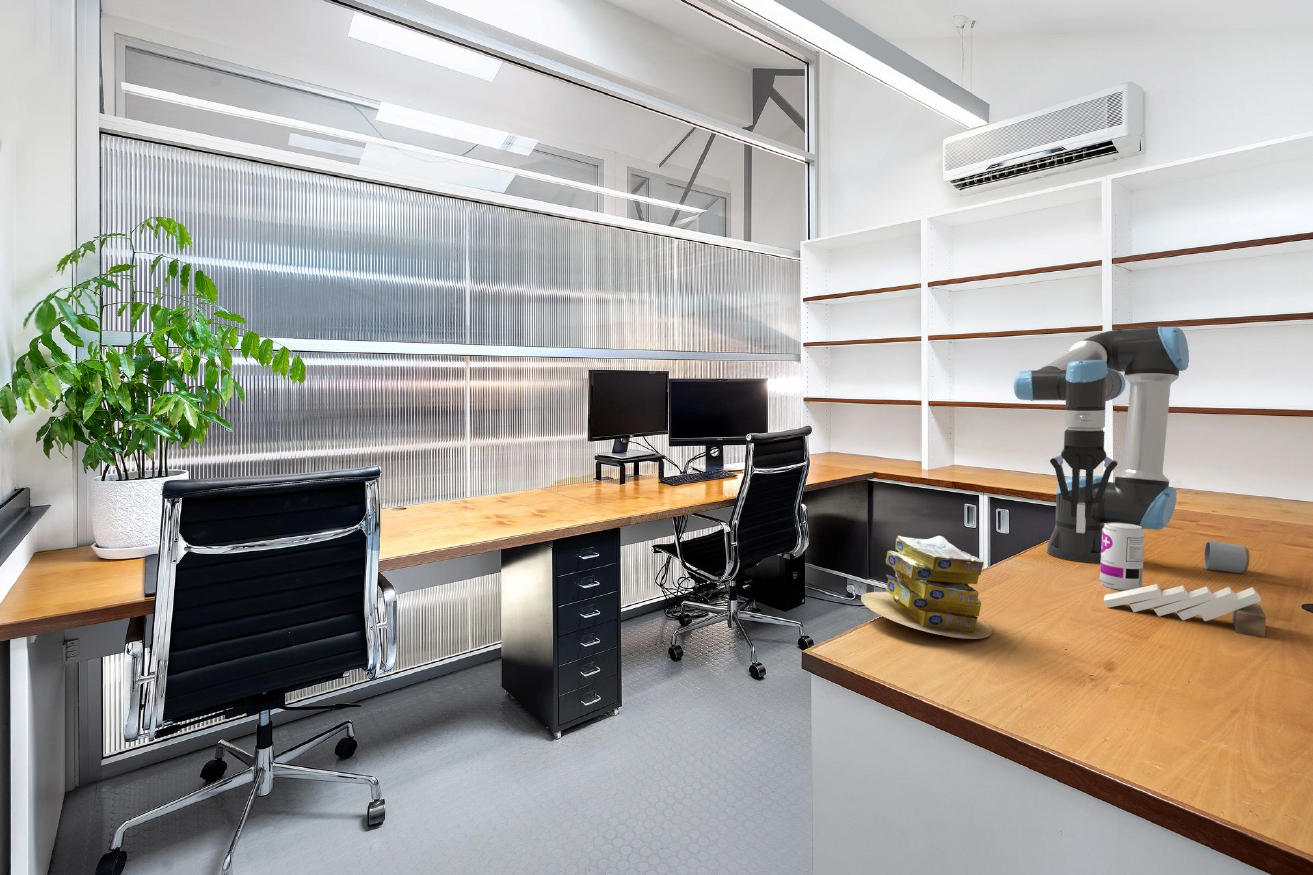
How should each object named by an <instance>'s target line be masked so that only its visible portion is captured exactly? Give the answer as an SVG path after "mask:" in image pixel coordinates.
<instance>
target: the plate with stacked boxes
mask: <svg viewBox="0 0 1313 875" xmlns="http://www.w3.org/2000/svg"><path fill="white" fill-rule="evenodd" d="M895 550H896V551H894V550H887V552H886V558H885V565H887V566H889V567H891V568H892V569H893V571H895V576H892V575H890V574H887V573H886V574H885V575H886V577H887V584H886V590H885V591H871V592H866V593H864V594H862V595H861V597H860V600H861V603H862V604H863V605H864V606H865V607H866V608H868V609H870V610H871V611H872V612H874V613H876V614H878V615H879V616H882V617H884V618H885V619H889V620H890V621H893V622H894V623H898V624H900V625H903V626H906V627H909V628H913V629H916V630H918V631H923V632H926V633H931V634H935V635H941V636H945V637H950V638H957V639H967V640H968V639H969V640H971V639H972V640H973V639H974V640H975V639H985V638H988V637H990V636H991V635H992V634H993V630H992V628H991V627H990V626H989V625H988V624H987V623H985V622H984V621H982V620H981V619H980V618H979V616H980V613H981V606H982V601H981V599H979V592H978V590H976V589H975V588H974V587H972V586H970V585H978V582H979V578H980V577H979V576H981V575H982V572H983V568H984V565H985V564H984V560H983V559H980V558H979V557H977V556H975V555H971V554H970V553H968V552H966V551H964V550H961V549H959V548H957V547H956V545H954V544H953V543H950V542H949V541H948V539H946V538H945V537H944V536H942V535H937V536H934V537H931V538H921V537H920V538H918V537H916V538H915V537H907V536H901V535H897V537H896V539H895Z"/></svg>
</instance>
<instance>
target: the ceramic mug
mask: <svg viewBox="0 0 1313 875" xmlns="http://www.w3.org/2000/svg"><path fill="white" fill-rule="evenodd" d="M1250 556H1251V555H1250V550H1249V549H1248V548H1247V547H1246V546H1243V545H1241V544H1240V545H1239V544H1233V543H1226V542H1222V541H1221V542H1220V541H1214V540H1207V541H1206V543H1205V546H1204V552H1203V565H1204V566H1203V567H1204V568H1205V569H1206V570H1208V569H1209V570H1210V571H1218V572H1226V573H1227V572H1228V573H1234V574H1244V573H1246V572H1247V571H1248V569H1249V566H1250Z"/></svg>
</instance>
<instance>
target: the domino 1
mask: <svg viewBox="0 0 1313 875" xmlns="http://www.w3.org/2000/svg"><path fill="white" fill-rule="evenodd" d="M1161 591H1162V590H1161V589H1160V586H1159V585H1158V583H1155V584H1150V585H1147V586H1142V587H1141V588H1136V589H1131V590H1127V591H1123V590H1121V591H1118V592H1112V593H1109V594H1108V593H1107V594H1104V598H1103V603H1104V604H1105V606H1106V608H1108V609H1109V608H1113V607H1118V606H1124V605H1130V603H1134V602H1139V601H1144V600H1149V599H1154V598H1159V597H1161Z"/></svg>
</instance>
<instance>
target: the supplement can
mask: <svg viewBox="0 0 1313 875" xmlns="http://www.w3.org/2000/svg"><path fill="white" fill-rule="evenodd" d="M1144 551H1145V532H1144V529H1142V527H1141V526H1138V525H1133V524H1126V523H1105V524H1104V528H1103V529H1102V545H1101V562H1100V566H1099V582H1100V583H1101V584H1102V586H1105V587H1106V588H1110V589H1113V590H1116V591H1117V590H1118V591H1127V590H1131V589H1136V588H1141V587H1143V572H1144V570H1143V569H1144V555H1145V554H1144V553H1145V552H1144Z"/></svg>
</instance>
